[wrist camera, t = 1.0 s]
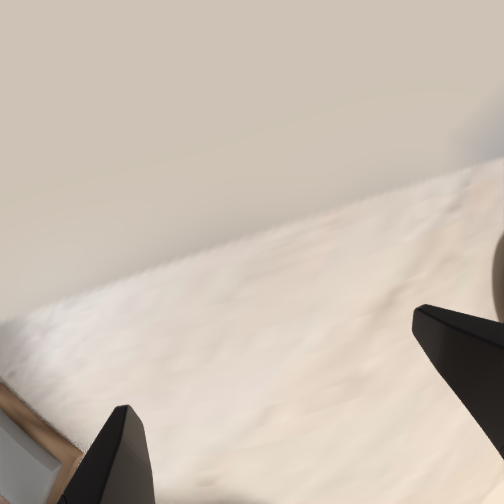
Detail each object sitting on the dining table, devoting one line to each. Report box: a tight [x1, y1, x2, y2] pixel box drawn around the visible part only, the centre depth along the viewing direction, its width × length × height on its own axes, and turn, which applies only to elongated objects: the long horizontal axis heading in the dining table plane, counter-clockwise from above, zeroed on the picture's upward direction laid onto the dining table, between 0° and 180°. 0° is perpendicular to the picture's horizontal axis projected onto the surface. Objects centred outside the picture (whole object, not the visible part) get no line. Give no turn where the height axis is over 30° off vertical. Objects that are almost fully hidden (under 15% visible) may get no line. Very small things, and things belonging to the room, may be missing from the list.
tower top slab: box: [0, 409, 62, 504], centre depth 15 cm, size 8×8×2 cm
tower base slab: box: [0, 382, 84, 504], centre depth 18 cm, size 10×10×2 cm
